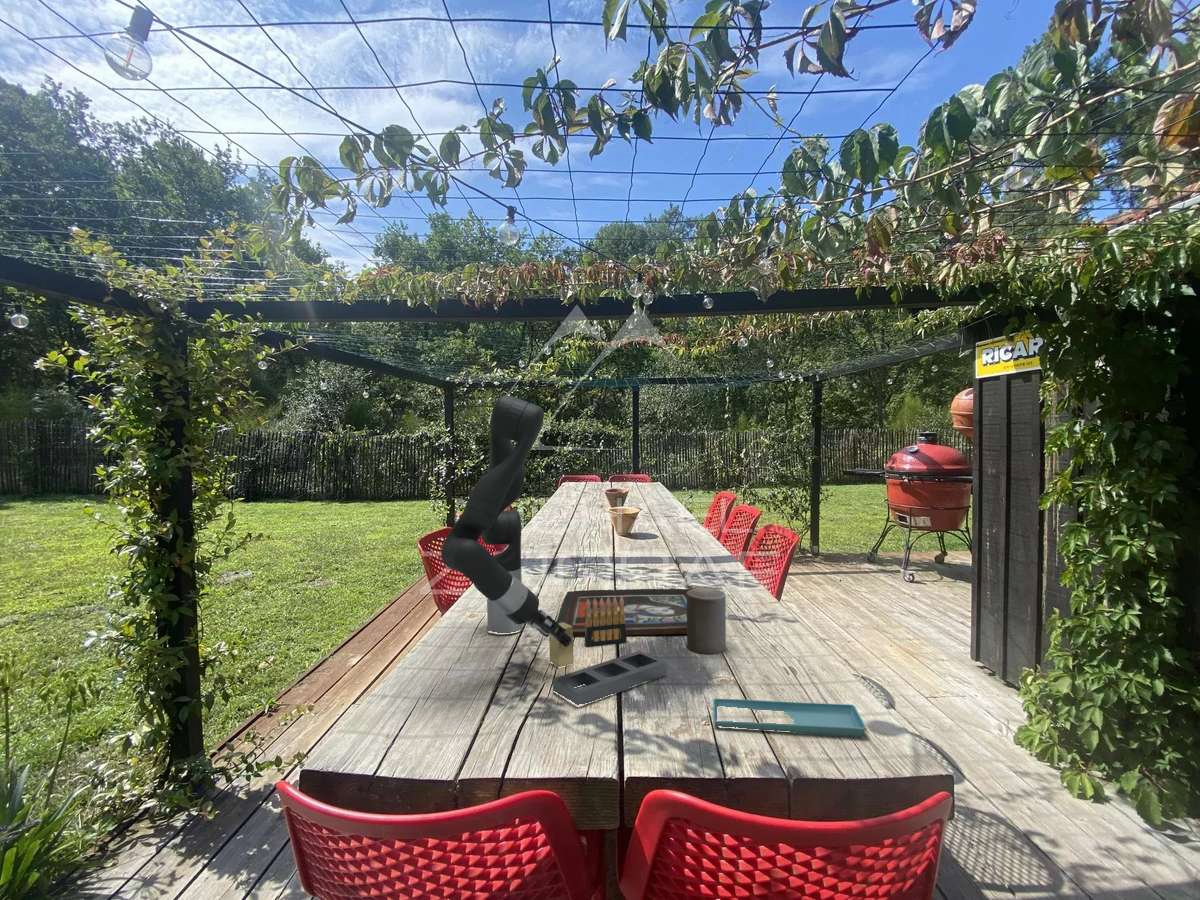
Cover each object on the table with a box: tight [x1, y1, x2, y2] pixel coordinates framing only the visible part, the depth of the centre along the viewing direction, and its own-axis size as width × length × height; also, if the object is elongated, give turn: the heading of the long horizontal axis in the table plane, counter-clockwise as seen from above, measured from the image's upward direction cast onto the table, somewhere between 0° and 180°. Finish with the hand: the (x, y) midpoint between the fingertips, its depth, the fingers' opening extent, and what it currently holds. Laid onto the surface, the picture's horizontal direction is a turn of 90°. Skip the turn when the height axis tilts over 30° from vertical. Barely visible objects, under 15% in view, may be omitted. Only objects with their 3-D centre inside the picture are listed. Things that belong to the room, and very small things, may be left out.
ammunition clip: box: [584, 596, 628, 648], centre depth 150 cm, size 11×2×12 cm, turn 103°
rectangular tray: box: [712, 698, 867, 738], centre depth 108 cm, size 26×9×2 cm, turn 80°
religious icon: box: [555, 587, 697, 638], centre depth 174 cm, size 40×45×3 cm
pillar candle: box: [686, 587, 727, 655], centre depth 146 cm, size 10×10×15 cm
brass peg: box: [548, 622, 574, 667], centre depth 138 cm, size 4×4×9 cm
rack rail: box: [552, 650, 667, 705], centre depth 126 cm, size 24×9×3 cm, turn 127°
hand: (558, 638), depth 137 cm, fingers open, 8 cm apart
